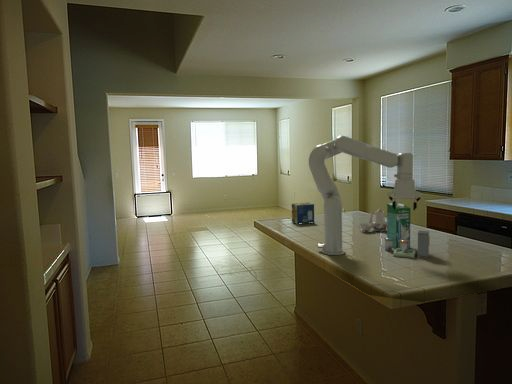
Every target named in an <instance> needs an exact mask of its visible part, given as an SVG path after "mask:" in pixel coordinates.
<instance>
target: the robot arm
mask: <svg viewBox="0 0 512 384" xmlns="http://www.w3.org/2000/svg"><path fill="white" fill-rule="evenodd" d="M342 153H343V154H346V155H348V156H352V157H354V158H357V159H360V160H364V161H368V162H371V163H374V164H378V165H380V166H383V167H385V168H389V169H390V168H394V167H396V170H397V171H396V172H397V173H396V174H393V177H394V178H396V179H395V180H394V187H393V188H394V189H393V190H391V191H390V192H387V194H386V195H387V197H388V199H389V200H390V201H391V203H392V208H394V210H395V209H396V203H397V202H396V200H397V199H399V200H412V201H413V204H412V205H413V208H412V209H413V211H416V209H417V208H418V202H419V201H420V200H421V199H422V197H423V195H424V194H423V193H421V192H420V191H417V190H416V185H415V183H416V182H415V179H414V173H413V172H414V169H413V168H414V156H413V153H412V152H399V153H394V152H391V151H388V150H386V149H382V148H378V147H376V146H373V145H371V144H370V143H369V144H368V143H366V142H363V141H360V140H357V139H354V138H351V137H349V136H345V135H338V136H337V137H336V138H335V139H332V140H330V141H327V142H325V143H323V144H321V143H320V144H317V145H316V146H315V147H314V148H313V149H312V150H311V152H310V153H309V158H308V167H309V170H310V172H311V175H312V178H313V180H314V183H315V185H316V189H317V190H318V193H320V194H321V197H322V199H323V218H324V219H323V223H324V224H323V225H324V230H323V231H324V243H323V244H321V243H318V244H317V246H316V247H317V248H318V249H321V253H322V254H324V255H327V256H328V255H329V256H341V255H344V254H346V250H345V249H344V248H343V200H342V197H341V195H340V192H339V190H338V187H337V185H336V182H335V180H334V179H333V178H332V177H331V176H330V173H329V172H328V168H327V166H326V163H325V161H326V160H327V159H330V158H332V157H334V156H337V155H340V154H342ZM392 195H393V196H392ZM416 195H418V197H417V198H416Z"/></svg>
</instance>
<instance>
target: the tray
mask: <svg viewBox="0 0 512 384" xmlns="http://www.w3.org/2000/svg"><path fill="white" fill-rule="evenodd" d="M416 254H417V253H416V249H409V253H400V249H399V248H396V249H395V248H394V251H393V257H397V258H409V259H414V258H415V257H416Z"/></svg>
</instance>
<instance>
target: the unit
mask: <svg viewBox="0 0 512 384" xmlns="http://www.w3.org/2000/svg"><path fill="white" fill-rule="evenodd" d="M430 246H431V236H430V231H429V230H418V231H417V258H422V259H423V258H424V259H429V256H430Z"/></svg>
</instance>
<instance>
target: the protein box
mask: <svg viewBox="0 0 512 384" xmlns="http://www.w3.org/2000/svg"><path fill="white" fill-rule="evenodd" d="M292 222H294V223H296V224H295V225H297V224H299V223H309V222H314V223H315V204H314V203H311V202H302V203H301V202H298V203H297V202H296V203H291V223H292ZM294 223H293V224H294ZM299 225H300V224H299Z"/></svg>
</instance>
